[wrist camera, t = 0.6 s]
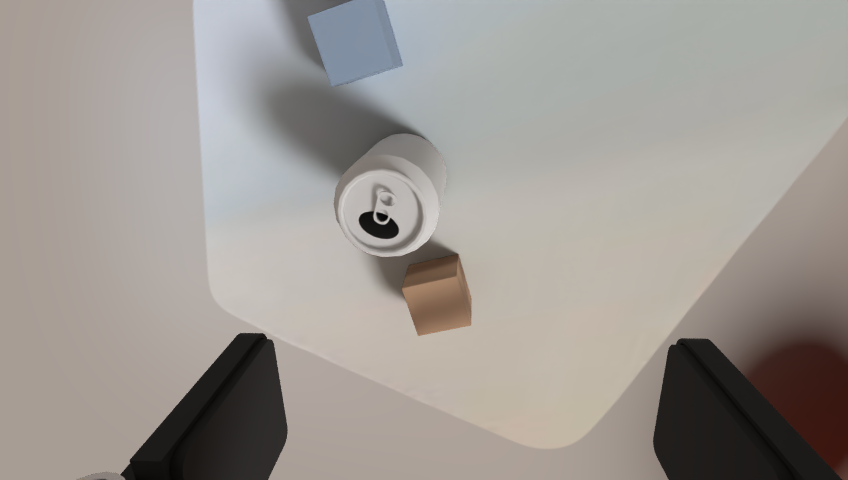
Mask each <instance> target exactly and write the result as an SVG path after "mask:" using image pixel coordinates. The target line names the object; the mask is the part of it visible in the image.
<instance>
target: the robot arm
mask: <svg viewBox="0 0 848 480" xmlns="http://www.w3.org/2000/svg"><path fill="white" fill-rule="evenodd" d="M286 439H287V423H286V416H285V410H284V404H283V397H282V392H281V385H280V379H279V373H278V367H277V360H276V354H275V348H274V343H273V341H272V340H269V339H267V337H266V336H265V334H263V333H240V334H238V335H237V336H236V337H235V338H234V340H233V341H232V342H231V343H230V344H229V346H228V347H227V348H226V349H225V350H224V351H223V353H222V354H221V355H220V356H219V357H218V358H217V359H216V361H215V362H214V363H213V364H212V365H211V366H210V368H209V369H208V370H207V371H206V372H205V373H204V374H203V376H202V377H201V378H200V379H199V381H197V383H196V384H195V385H194V386H193V387H192V388H191V390H190V391H189V392H188V393H187V394H186V395H185V397H184V398H183V399H182V400H181V401H180V402H179V404H178V405H177V406H176V407H175V408H174V409H173V411H172V412H171V413H170V414H169V415H168V416H167V417H166V419H165V420H164V421H163V422H162V423H161V424H160V426H159V427H158V428H157V429H156V430H155V432H154V433H153V434H152V435H151V436H150V437H149V438H148V440H147V441H146V442H145V443H144V444H143V445H142V446H141V448H140V449H139V450H138V451H137V452H136V454H135V455H134V456H133V457H132V458H131V459H130V464H129V465H128V466H127V468H126V469H125V470H124V471H123V472H122V473H121V475H119V474H117V473H110V472H103V473H96V474H91V475H88V476H85V477H82V478H80V479H77V480H268V478H269V476H270V474H271V472H272V470H273V468H274V466H275V464H276V462H277V460H278V457H279V455H280V453H281V451H282V449H283V447H284V445H285V442H286ZM653 444H654V450H655V453H656V456H657V458H658V460H659V462H660V464H661V466H662V468H663V469H664V471H665V473H666V475H667V477H668V479H669V480H842V479H841V478H840V477H839V476H838V475H837V474H836V473H835V472H834V471H833V470H832V468H831V467H830V466H829V465H828V464H827V463H826V462H825V461H824V460H823V459H822V458H821V457H820V456H819V455H818V454H817V453H816V451H815V450H814V449H813V448H812V447H811V446H810V445H809V444H808V443H807V442H806V441H805V440H804V439H803V438H802V437H801V436H800V435H799V433H798V432H797V431H796V430H795V429H794V428H793V427H792V426H791V425H790V424H789V423H788V422H787V421H786V420H785V419H784V418H783V417H782V416H781V414H780V413H779V412H778V411H777V410H776V409H775V408H774V407H773V406H772V405H771V404H770V403H769V402H768V401H767V400H766V399H765V398H764V397H763V396H762V394H761V393H760V392H759V391H758V390H757V389H756V388H755V387H754V386H753V385H752V384H751V383H750V382H749V381H748V380H747V379H746V378H745V376H744V375H743V374H742V373H741V372H740V371H739V370H738V369H737V368H736V367H735V366H734V365H733V364H732V363H731V362H730V361H729V360H728V359H727V357H726V356H725V355H724V354H723V353H722V352H721V351H720V350H719V349H718V348H717V347H716V346H715V345H714V344H713V343H712V342H711V341H710V340H709V339H685V338H684V339H683V338H682V339H679V340H678V341H677V343H676V345H671V346H670V347H669V350H668V355H667V361H666V368H665V373H664V378H663V384H662V391H661V396H660V402H659V408H658V415H657V420H656V426H655V432H654V438H653Z"/></svg>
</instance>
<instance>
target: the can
mask: <svg viewBox="0 0 848 480" xmlns="http://www.w3.org/2000/svg"><path fill="white" fill-rule="evenodd" d="M446 181H447V174H446V165H445V163H444V161H443V158H442V156H441V154H440V153H439V151H438V150H437V149H436V148H435V147H434V146H433V145H432V143H430V142H428V141H427V140H425V139H423V138H422V137H420V136H416V135H412V134H407V133H403V134H393V135H391V136H389V137H386V138H384V139H382V140H380V141H379V142H378V143H377V144H376V145H375V146H373V147H372V148H371V149H370V150H369V151H368V152H367V153H365V154H364V155H363V156H362V157H361V158H360V159H359V160H358V161H356V162H355V163H354V164H353V165H352V166H351V167H350V168H349V169H348V170H347V171H346V172H345V173H344V174H343V175H342V177H341V179H340V181H339V183H338V185H337V187H336V191H335V198H334V208H335V213H336V219H337V221H338V223H339V225H340V227H341V229H342V231H343V232H344V234H345V236H346V237H347V238H348V239H349V241H350V242H351V243H352V244H353V245H354V246H355V247H357V248H359V249H361V250H362V251H364V252H366V253H368V254H371V255H376V256H380V257H390V256H402V255H405V254H407V253H410V252H412V251H415V250H417V249H418V248H419V247H420V246H422V245H423V244H424V243H425V242H426V241H428V239H429V238H430V236H431V234H432V233H433V231H434V230H435V228H436V225H437V220H438V216H439V212H440V207H441V203H442V198H443V194H444V190H445V185H446Z"/></svg>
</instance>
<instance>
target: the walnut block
mask: <svg viewBox="0 0 848 480" xmlns="http://www.w3.org/2000/svg"><path fill="white" fill-rule="evenodd" d="M402 291H403V294H404V297H405V299H406V302H407V305H408V308H409V311H410V314H411V317H412V320H413V322H414V325H415V328H416V331H417V334H418V336H420V335H425V334H430V333H435V332H440V331H445V330H450V329H455V328H460V327H465V326H470V325H471V295H470V292H469V289H468V285H467V282H466V278H465V275H464V271H463V268H462V265H461V261H460V258H459V254H456V255H451V256H447V257H443V258H438V259H434V260H430V261H425V262H421V263H417V264H413V265H409V267H408V270H407V273H406V277H405V280H404V283H403V286H402Z"/></svg>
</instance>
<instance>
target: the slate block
mask: <svg viewBox="0 0 848 480" xmlns="http://www.w3.org/2000/svg"><path fill="white" fill-rule="evenodd" d="M307 18H308V21H309V24H310V27H311V30H312V33H313V35H314V38H315V41H316V44H317V47H318V50H319V53H320V55H321V58H322V61H323V64H324V67H325V70H326V73H327V76H328V78H329V81H330V84H331V87H333V86H338V85H343V84H348V83H351V82H354V81H357V80H360V79H363V78H366V77H369V76H372V75H376V74H379V73H382V72H385V71H388V70H391V69H394V68H397V67H400V66H403V64H402V60H401V57H400V53H399V50H398V46H397V43H396V40H395V36H394V33H393V29H392V26H391V23H390V19H389V16H388V12H387V9H386V6H385V2H384V1H383V0H352V1H349V2H346V3H344V4H341V5H338V6H335V7H333V8H330V9H327V10H324V11H322V12H319V13H316V14H313V15H310V16H308V17H307Z"/></svg>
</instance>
